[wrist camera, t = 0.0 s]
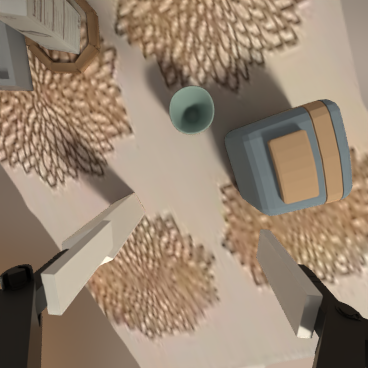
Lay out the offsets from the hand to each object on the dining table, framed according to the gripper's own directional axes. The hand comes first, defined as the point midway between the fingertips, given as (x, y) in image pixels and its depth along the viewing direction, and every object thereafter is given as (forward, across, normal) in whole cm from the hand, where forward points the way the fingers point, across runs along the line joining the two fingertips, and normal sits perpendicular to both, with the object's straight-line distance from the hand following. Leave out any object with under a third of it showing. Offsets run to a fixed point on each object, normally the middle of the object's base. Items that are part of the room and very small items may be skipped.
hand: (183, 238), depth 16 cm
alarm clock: (+28, +17, +5) cm, 33 cm away
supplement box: (+28, -28, +29) cm, 49 cm away
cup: (+28, 0, +13) cm, 31 cm away
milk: (+28, -15, -9) cm, 33 cm away
